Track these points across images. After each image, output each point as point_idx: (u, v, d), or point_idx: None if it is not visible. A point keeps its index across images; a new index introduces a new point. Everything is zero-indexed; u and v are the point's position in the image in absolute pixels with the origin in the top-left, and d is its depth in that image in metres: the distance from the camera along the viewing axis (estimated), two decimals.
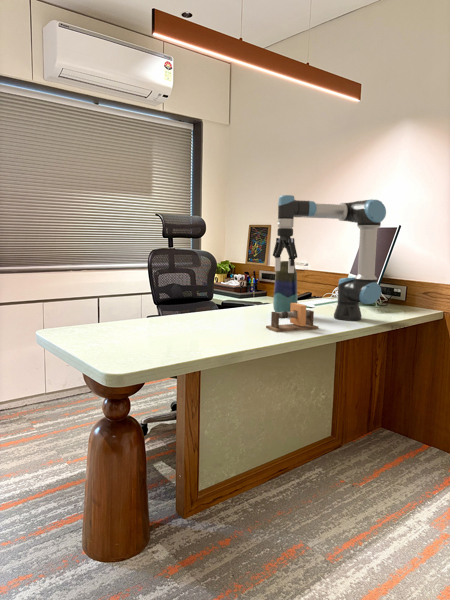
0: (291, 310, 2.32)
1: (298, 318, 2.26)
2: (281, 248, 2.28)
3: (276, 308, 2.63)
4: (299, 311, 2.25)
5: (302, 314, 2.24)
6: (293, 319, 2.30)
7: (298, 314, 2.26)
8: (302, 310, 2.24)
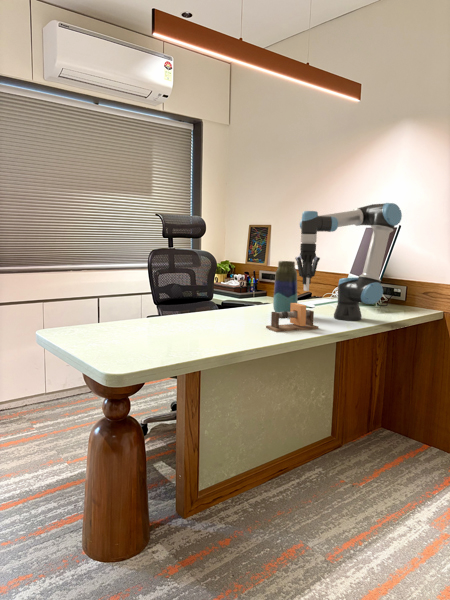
0: (291, 310, 2.32)
1: (298, 318, 2.26)
2: (308, 264, 2.27)
3: (276, 308, 2.63)
4: (299, 311, 2.25)
5: (302, 314, 2.24)
6: (293, 319, 2.30)
7: (298, 314, 2.26)
8: (302, 310, 2.24)
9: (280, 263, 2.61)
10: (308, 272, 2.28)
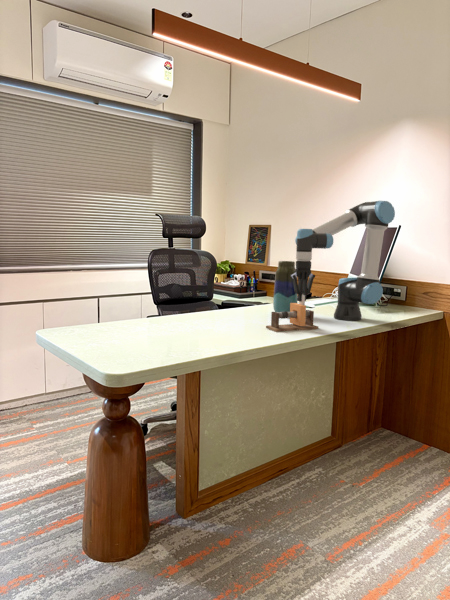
0: (291, 310, 2.32)
1: (298, 318, 2.26)
2: (304, 281, 2.28)
3: (276, 308, 2.63)
4: (299, 311, 2.25)
5: (302, 314, 2.24)
6: (293, 319, 2.30)
7: (298, 314, 2.25)
8: (302, 310, 2.24)
9: (280, 263, 2.61)
10: (303, 289, 2.28)
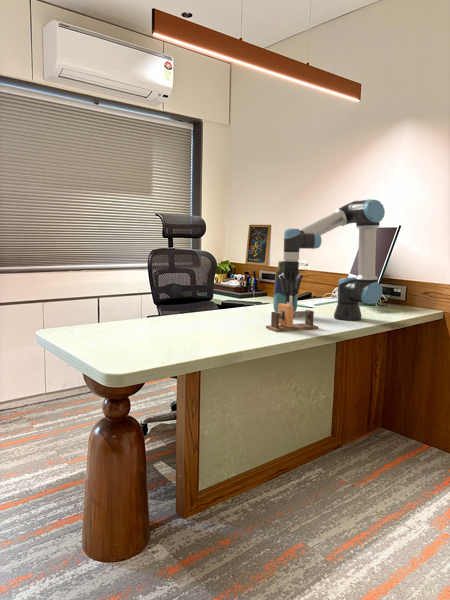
0: (278, 311, 2.29)
1: (285, 319, 2.23)
2: (291, 282, 2.25)
3: (276, 308, 2.63)
4: (286, 312, 2.22)
5: (289, 314, 2.21)
6: (280, 320, 2.28)
7: (285, 315, 2.23)
8: (289, 311, 2.21)
9: (280, 263, 2.61)
10: (291, 290, 2.25)
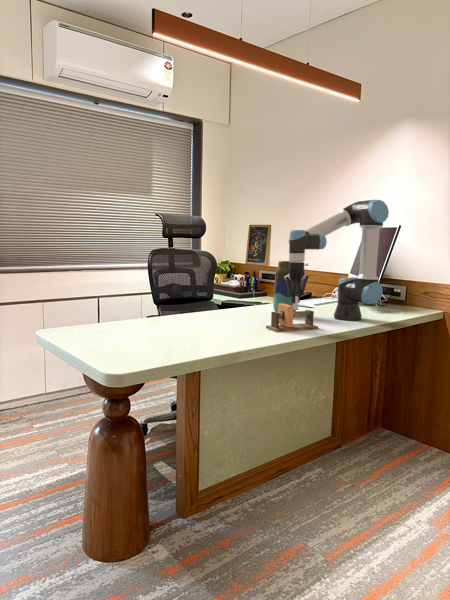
0: (278, 311, 2.29)
1: (285, 319, 2.23)
2: (297, 283, 2.26)
3: (276, 308, 2.63)
4: (286, 312, 2.22)
5: (289, 314, 2.21)
6: (280, 320, 2.28)
7: (285, 315, 2.23)
8: (289, 311, 2.21)
9: (280, 263, 2.61)
10: (297, 291, 2.27)
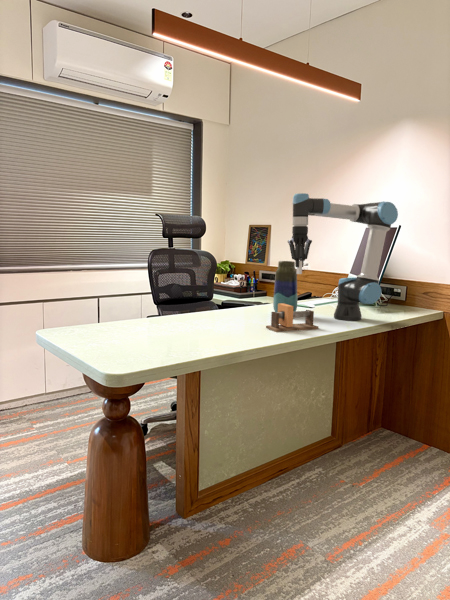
0: (278, 311, 2.29)
1: (285, 319, 2.23)
2: (301, 247, 2.28)
3: (276, 308, 2.63)
4: (286, 312, 2.22)
5: (289, 314, 2.21)
6: (280, 320, 2.28)
7: (285, 315, 2.23)
8: (289, 311, 2.21)
9: (280, 263, 2.61)
10: (301, 255, 2.28)
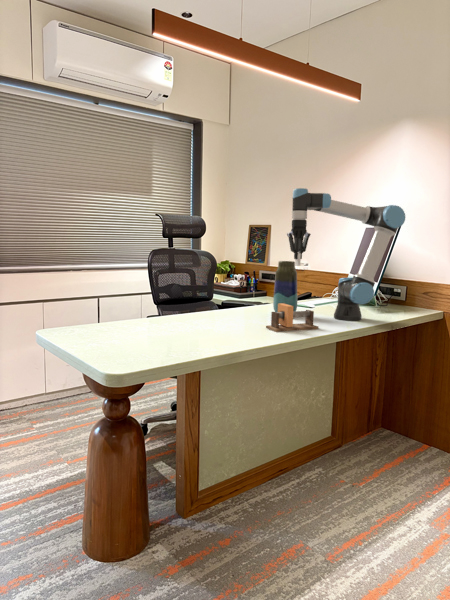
0: (278, 311, 2.29)
1: (285, 319, 2.23)
2: (299, 240, 2.37)
3: (276, 308, 2.63)
4: (286, 312, 2.22)
5: (289, 314, 2.21)
6: (280, 320, 2.28)
7: (285, 315, 2.23)
8: (289, 311, 2.21)
9: (280, 263, 2.61)
10: (299, 247, 2.38)
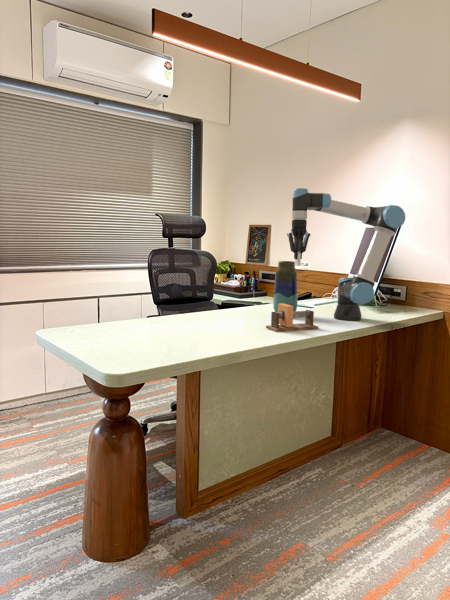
0: (278, 311, 2.29)
1: (285, 319, 2.23)
2: (299, 240, 2.37)
3: (276, 308, 2.63)
4: (286, 312, 2.22)
5: (289, 314, 2.21)
6: (280, 320, 2.28)
7: (285, 315, 2.23)
8: (289, 311, 2.21)
9: (280, 263, 2.61)
10: (299, 247, 2.38)
